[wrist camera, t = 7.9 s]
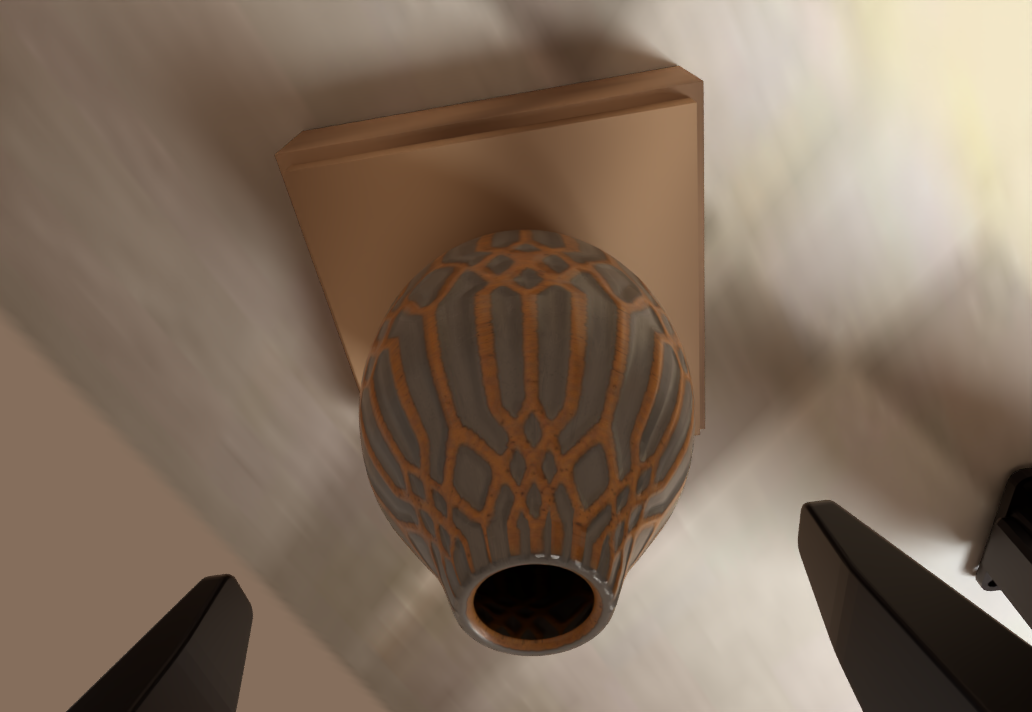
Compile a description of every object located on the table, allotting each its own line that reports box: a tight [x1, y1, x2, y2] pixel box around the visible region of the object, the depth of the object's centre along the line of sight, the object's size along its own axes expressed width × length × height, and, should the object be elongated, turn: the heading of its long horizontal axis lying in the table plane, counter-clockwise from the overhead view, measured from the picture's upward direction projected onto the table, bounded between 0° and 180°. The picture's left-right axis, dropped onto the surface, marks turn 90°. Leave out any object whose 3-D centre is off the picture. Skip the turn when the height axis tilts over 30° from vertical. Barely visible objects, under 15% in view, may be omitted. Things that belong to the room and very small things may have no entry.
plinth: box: [275, 66, 705, 435], centre depth 18 cm, size 10×10×3 cm
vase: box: [359, 230, 695, 656], centre depth 13 cm, size 7×7×9 cm
